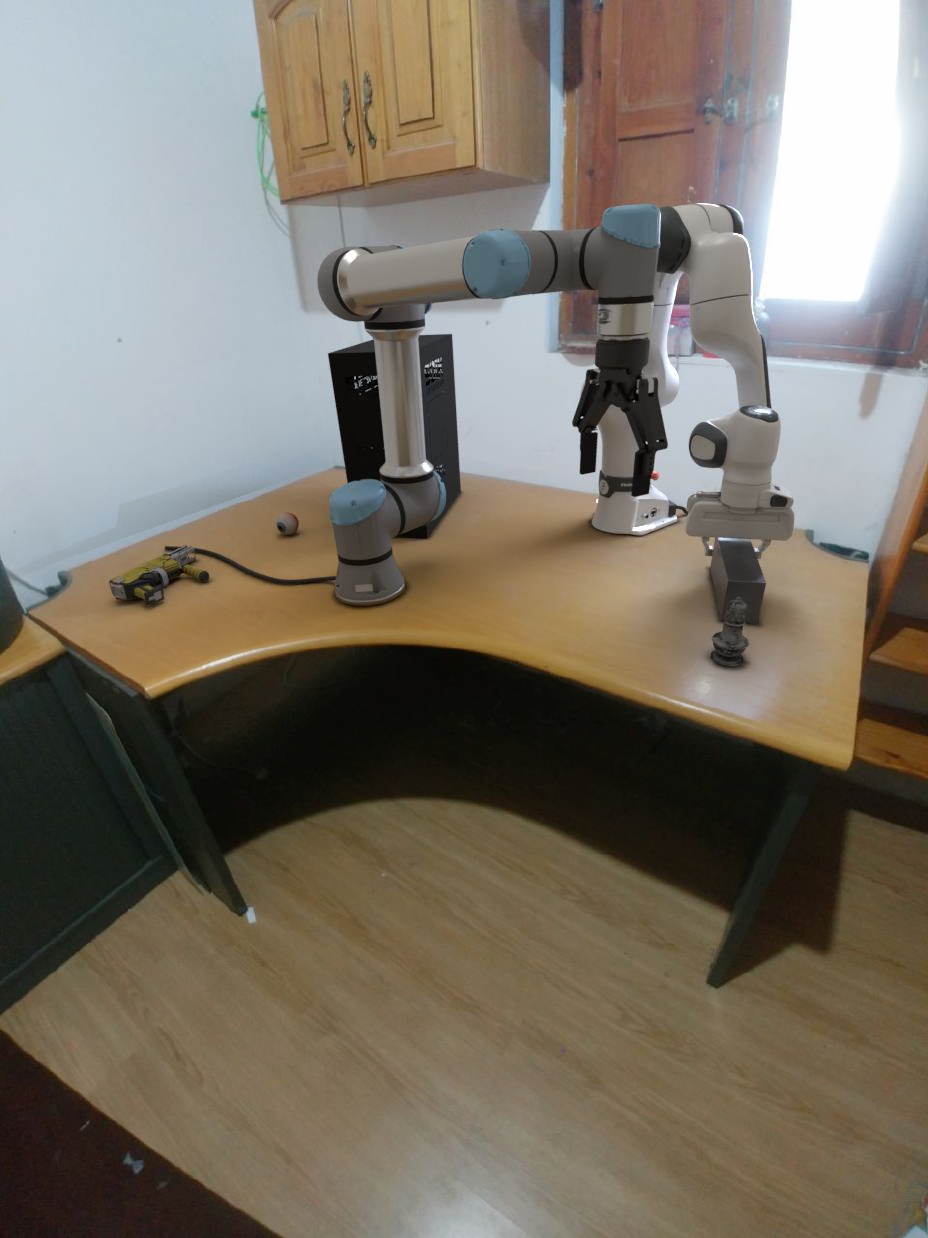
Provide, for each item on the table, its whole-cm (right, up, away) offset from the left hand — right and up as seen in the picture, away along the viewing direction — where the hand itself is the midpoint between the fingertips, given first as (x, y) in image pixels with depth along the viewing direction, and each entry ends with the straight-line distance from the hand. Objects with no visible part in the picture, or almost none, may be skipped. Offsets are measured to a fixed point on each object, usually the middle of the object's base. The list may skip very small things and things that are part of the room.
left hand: (612, 483), depth 96 cm
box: (+31, -16, +27) cm, 45 cm away
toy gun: (-91, -13, +46) cm, 103 cm away
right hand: (+33, -8, +31) cm, 46 cm away
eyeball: (-72, +1, +69) cm, 99 cm away
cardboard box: (-39, +10, +80) cm, 89 cm away
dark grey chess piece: (+22, -28, +8) cm, 37 cm away
